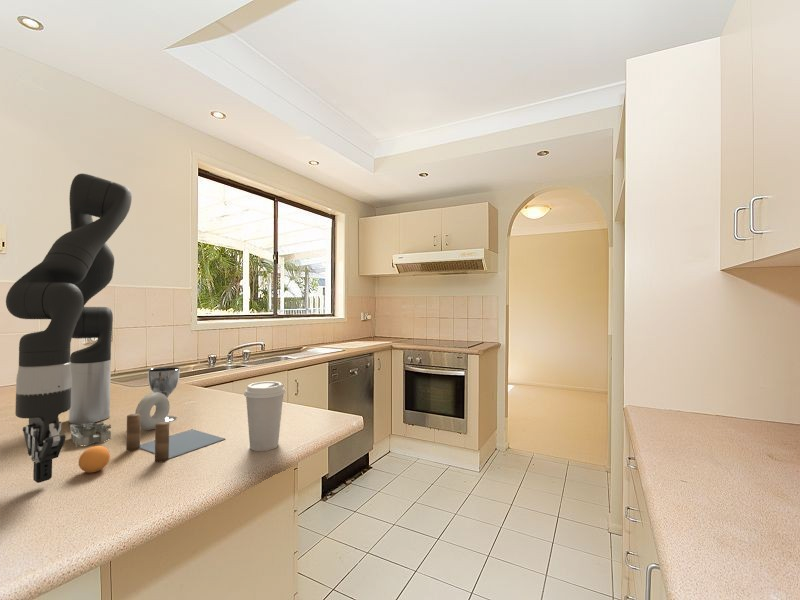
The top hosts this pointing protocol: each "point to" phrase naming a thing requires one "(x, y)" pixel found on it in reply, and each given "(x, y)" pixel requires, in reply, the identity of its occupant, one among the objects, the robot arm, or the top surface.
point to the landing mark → (184, 442)
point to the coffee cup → (264, 414)
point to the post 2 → (161, 441)
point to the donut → (145, 408)
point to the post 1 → (133, 432)
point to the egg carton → (90, 433)
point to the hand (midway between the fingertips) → (42, 480)
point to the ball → (94, 459)
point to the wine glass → (164, 382)
